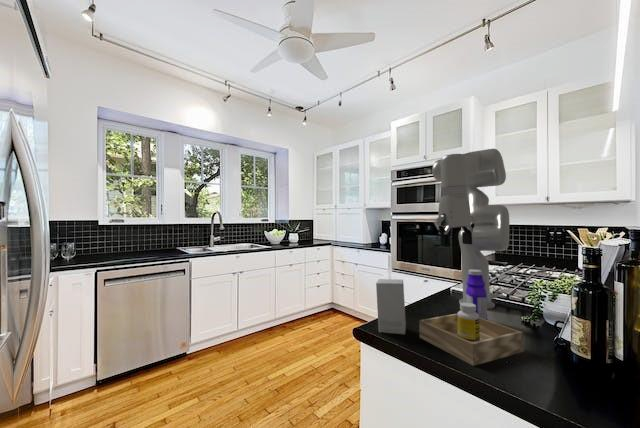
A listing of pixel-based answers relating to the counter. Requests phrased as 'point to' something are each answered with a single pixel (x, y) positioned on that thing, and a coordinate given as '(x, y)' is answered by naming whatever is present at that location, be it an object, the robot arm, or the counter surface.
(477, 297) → the bottle
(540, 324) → the counter surface
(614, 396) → the counter surface
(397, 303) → the skincare box
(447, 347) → the crate
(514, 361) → the counter surface
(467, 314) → the supplement bottle
